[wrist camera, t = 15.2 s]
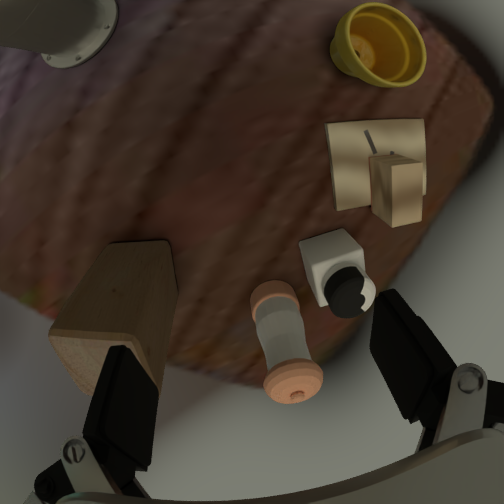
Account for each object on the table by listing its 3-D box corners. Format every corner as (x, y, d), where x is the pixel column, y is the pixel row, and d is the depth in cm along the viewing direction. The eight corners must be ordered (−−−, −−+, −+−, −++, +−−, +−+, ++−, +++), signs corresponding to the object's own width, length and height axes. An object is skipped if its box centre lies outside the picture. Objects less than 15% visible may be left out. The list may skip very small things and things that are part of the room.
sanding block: (368, 157, 34) (391, 165, 28) (397, 154, 34) (422, 162, 28) (371, 211, 37) (391, 227, 32) (398, 206, 37) (421, 220, 32)
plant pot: (372, 103, 31) (414, 104, 22) (305, 69, 29) (333, 54, 20) (392, 46, 27) (434, 36, 18) (329, 10, 24) (360, -15, 16)
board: (324, 123, 32) (327, 124, 31) (419, 118, 32) (423, 119, 31) (334, 208, 38) (337, 211, 37) (422, 192, 38) (425, 194, 37)
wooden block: (170, 237, 38) (133, 341, 20) (180, 295, 42) (161, 406, 25) (106, 241, 37) (41, 334, 19) (121, 296, 41) (81, 397, 24)
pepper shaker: (266, 322, 46) (286, 421, 29) (240, 296, 43) (252, 401, 26) (303, 301, 45) (339, 397, 28) (279, 271, 42) (313, 372, 25)
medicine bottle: (307, 280, 43) (330, 332, 32) (297, 240, 40) (323, 288, 29) (348, 266, 43) (382, 313, 32) (343, 226, 39) (381, 268, 29)
